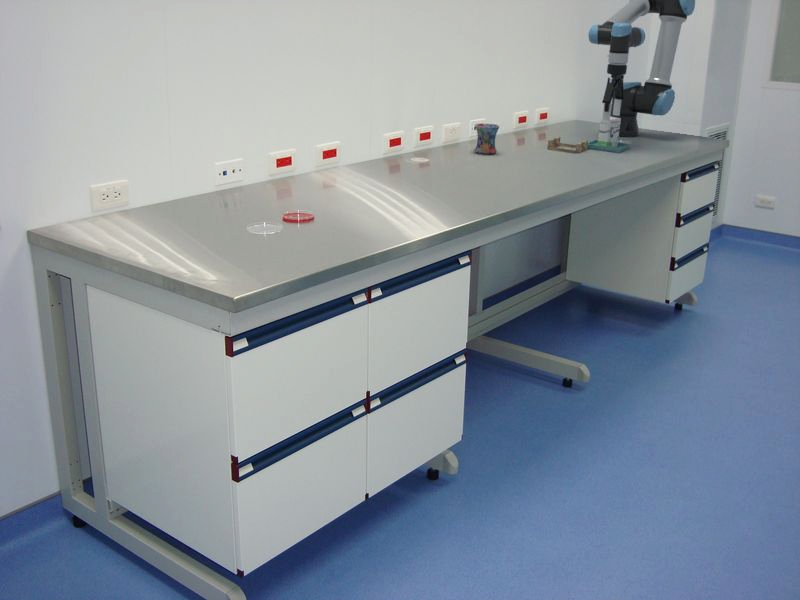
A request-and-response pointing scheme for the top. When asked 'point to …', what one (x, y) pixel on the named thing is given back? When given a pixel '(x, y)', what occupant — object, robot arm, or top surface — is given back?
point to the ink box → (609, 132)
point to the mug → (486, 138)
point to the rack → (556, 142)
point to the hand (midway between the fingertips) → (611, 117)
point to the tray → (618, 149)
